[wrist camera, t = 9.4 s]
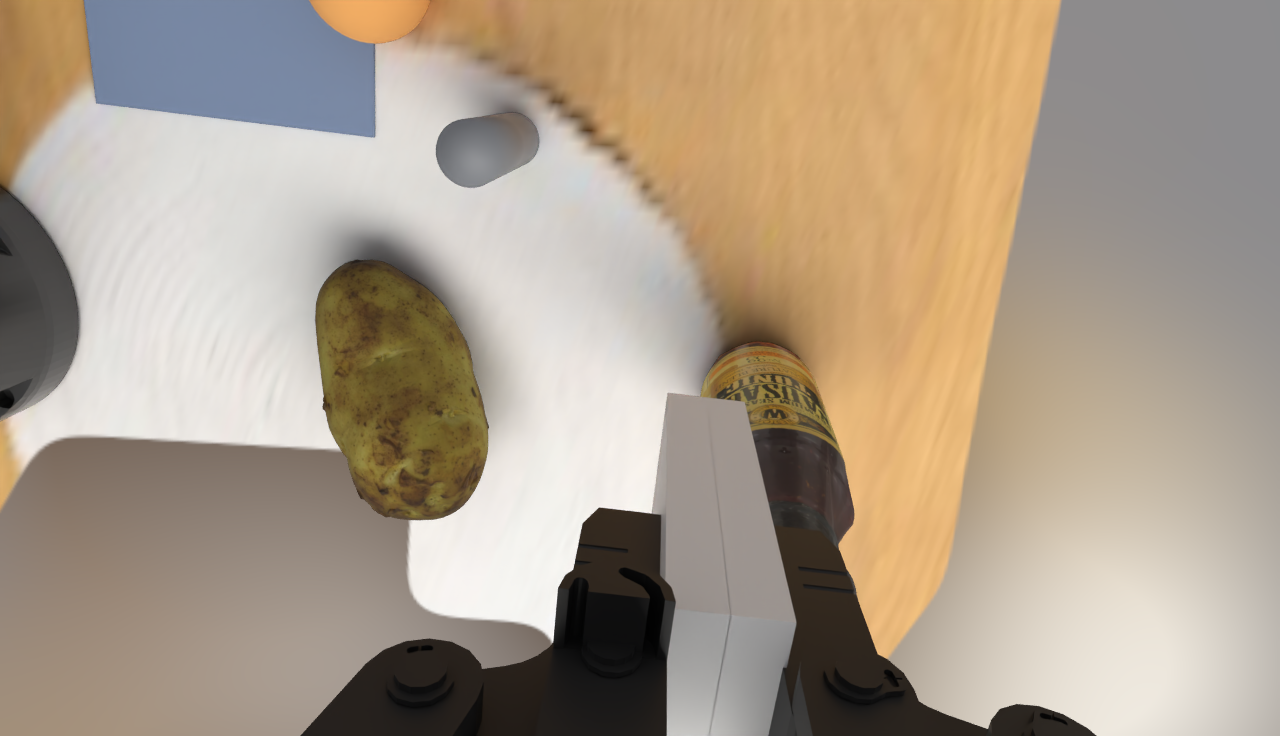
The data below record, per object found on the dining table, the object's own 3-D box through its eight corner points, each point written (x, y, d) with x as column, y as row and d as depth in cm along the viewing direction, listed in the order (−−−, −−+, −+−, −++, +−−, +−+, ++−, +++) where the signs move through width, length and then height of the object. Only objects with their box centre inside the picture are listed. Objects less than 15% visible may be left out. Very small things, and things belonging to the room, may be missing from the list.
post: (486, 163, 39) (435, 183, 31) (489, 109, 38) (436, 115, 30) (537, 169, 39) (499, 191, 31) (540, 115, 38) (503, 123, 30)
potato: (489, 248, 41) (447, 284, 33) (509, 467, 45) (477, 543, 38) (335, 251, 41) (259, 287, 34) (369, 468, 45) (309, 543, 38)
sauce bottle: (815, 335, 42) (931, 536, 23) (807, 441, 44) (908, 703, 25) (693, 334, 42) (710, 532, 23) (691, 439, 44) (706, 698, 25)
